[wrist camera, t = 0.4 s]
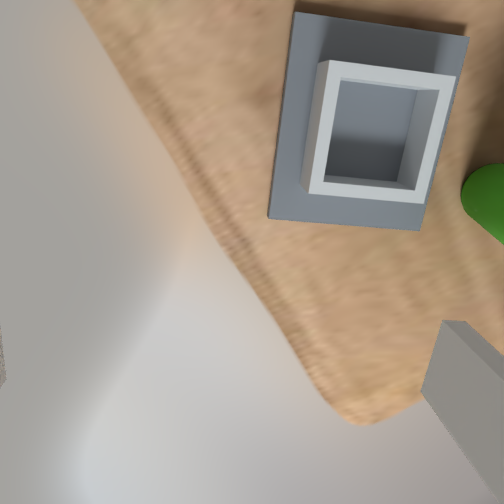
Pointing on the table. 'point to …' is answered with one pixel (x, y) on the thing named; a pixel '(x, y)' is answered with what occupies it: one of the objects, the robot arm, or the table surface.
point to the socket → (362, 121)
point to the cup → (486, 198)
